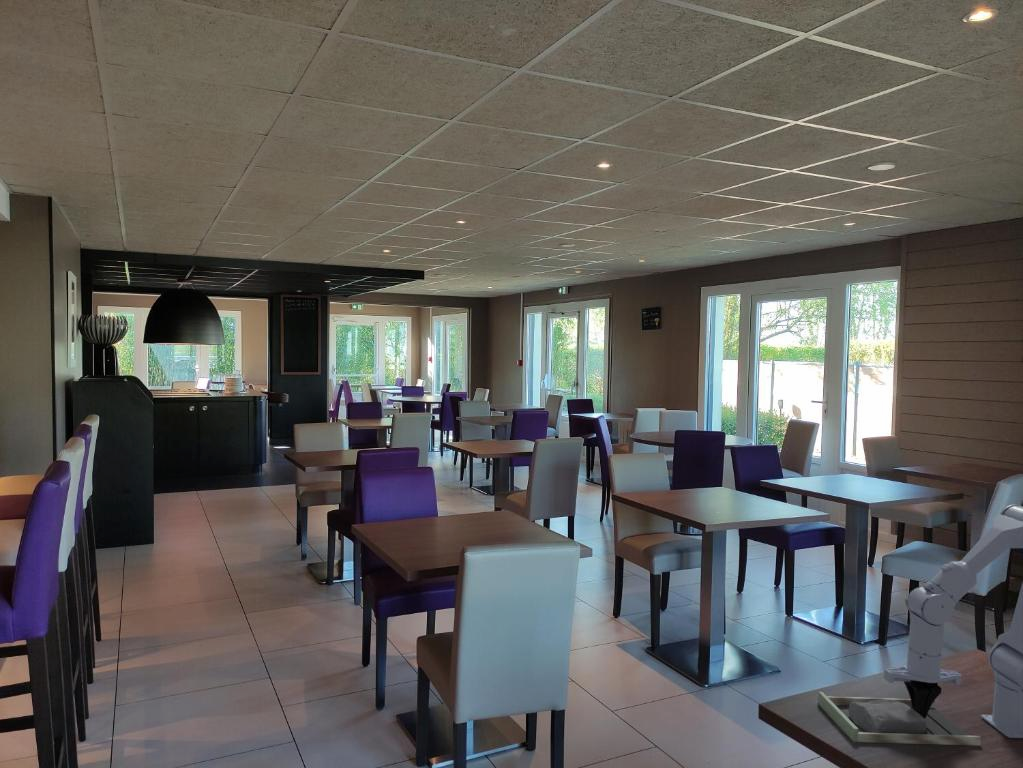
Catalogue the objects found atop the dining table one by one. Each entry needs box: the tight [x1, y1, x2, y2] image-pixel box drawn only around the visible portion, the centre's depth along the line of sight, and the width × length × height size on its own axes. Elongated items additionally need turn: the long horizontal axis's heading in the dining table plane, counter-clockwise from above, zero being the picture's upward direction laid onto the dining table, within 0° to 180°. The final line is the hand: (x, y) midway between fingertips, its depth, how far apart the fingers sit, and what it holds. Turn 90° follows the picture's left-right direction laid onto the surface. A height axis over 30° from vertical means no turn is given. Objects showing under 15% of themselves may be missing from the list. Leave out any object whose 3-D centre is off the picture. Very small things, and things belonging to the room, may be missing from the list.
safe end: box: [817, 691, 859, 743], centre depth 141 cm, size 1×14×2 cm, turn 2°
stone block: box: [848, 699, 927, 734], centre depth 141 cm, size 12×5×10 cm
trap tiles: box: [911, 707, 969, 736], centre depth 142 cm, size 7×12×1 cm, turn 2°
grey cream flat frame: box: [826, 695, 982, 746], centre depth 142 cm, size 24×14×2 cm, turn 92°
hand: (919, 717), depth 142 cm, fingers closed
